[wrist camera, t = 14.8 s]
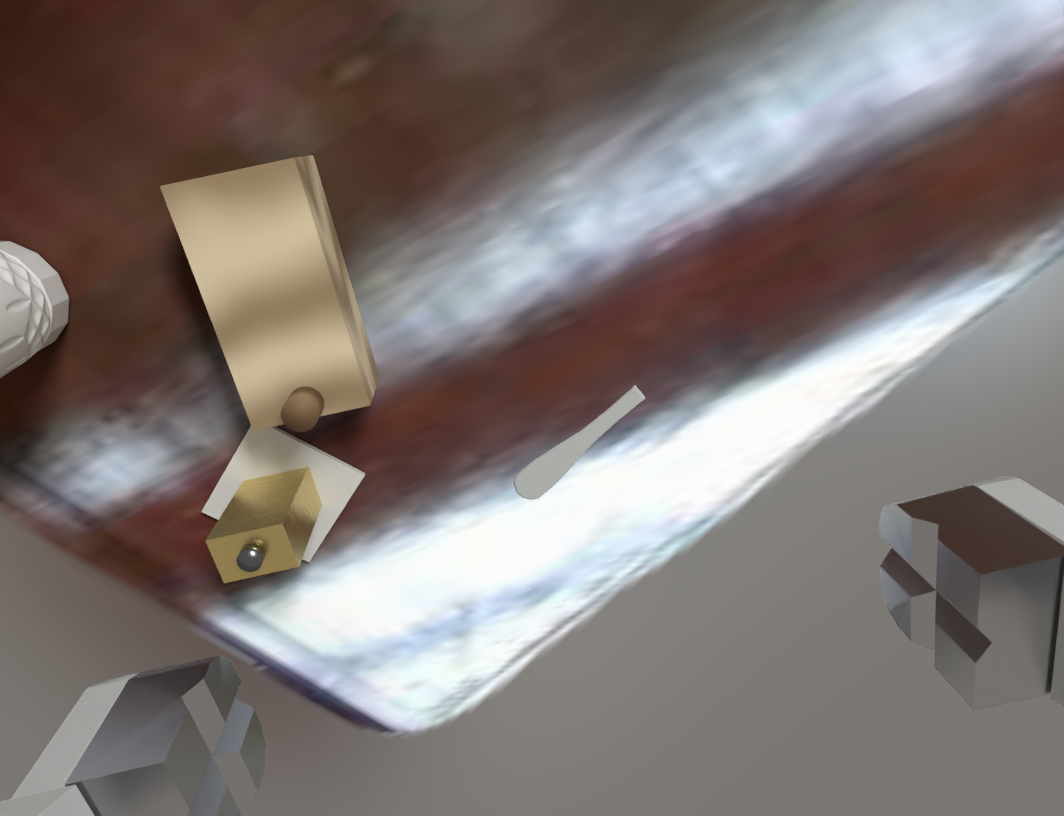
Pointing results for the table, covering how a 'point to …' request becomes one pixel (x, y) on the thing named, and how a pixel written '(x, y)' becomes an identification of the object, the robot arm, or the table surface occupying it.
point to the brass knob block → (265, 525)
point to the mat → (281, 454)
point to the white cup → (28, 305)
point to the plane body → (276, 291)
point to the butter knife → (571, 449)
